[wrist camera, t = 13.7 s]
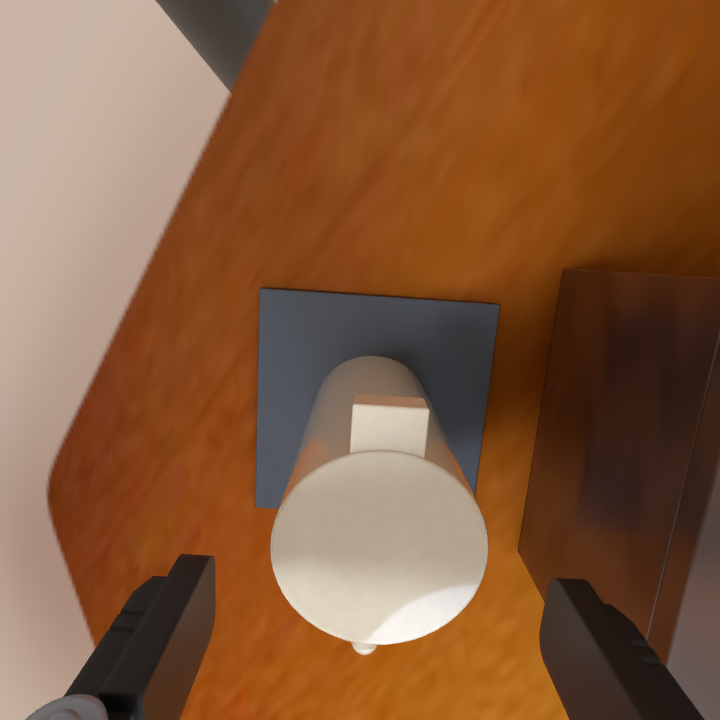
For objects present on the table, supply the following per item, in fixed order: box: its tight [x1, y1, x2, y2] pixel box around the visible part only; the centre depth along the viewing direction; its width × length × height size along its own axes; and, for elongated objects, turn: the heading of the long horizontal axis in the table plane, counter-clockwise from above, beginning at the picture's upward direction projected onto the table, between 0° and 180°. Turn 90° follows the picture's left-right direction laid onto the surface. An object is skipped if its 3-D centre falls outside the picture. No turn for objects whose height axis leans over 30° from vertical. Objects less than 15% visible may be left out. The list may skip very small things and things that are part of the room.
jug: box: [270, 356, 488, 655], centre depth 19 cm, size 10×6×12 cm, turn 176°
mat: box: [255, 288, 500, 509], centre depth 25 cm, size 12×12×1 cm
